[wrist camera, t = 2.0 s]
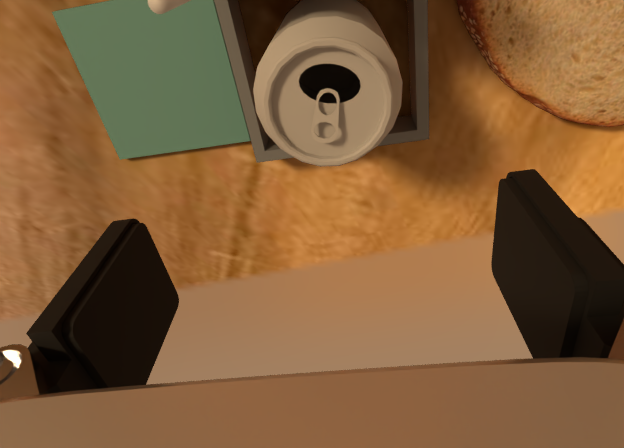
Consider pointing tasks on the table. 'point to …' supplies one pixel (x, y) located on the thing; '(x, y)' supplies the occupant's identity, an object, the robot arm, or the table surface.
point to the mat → (156, 75)
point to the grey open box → (244, 75)
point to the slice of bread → (555, 53)
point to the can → (328, 83)
